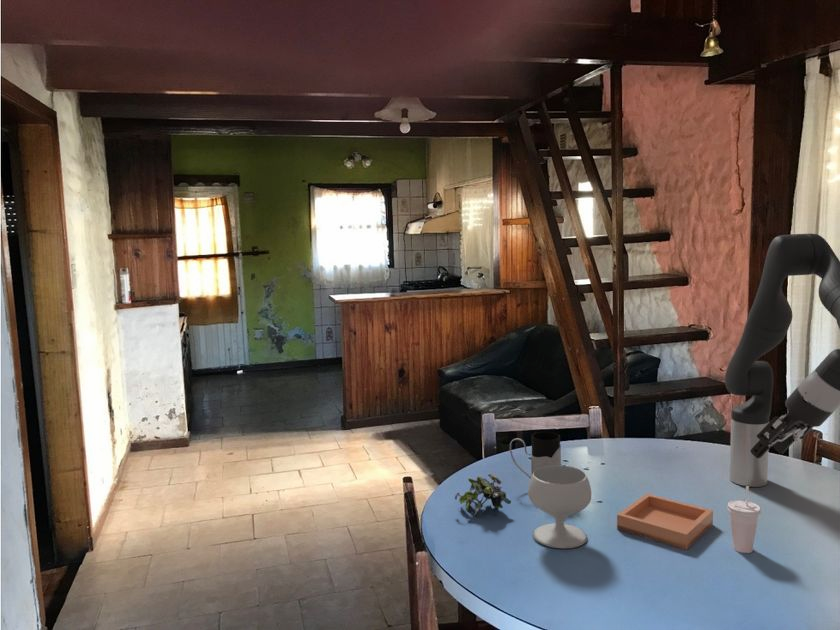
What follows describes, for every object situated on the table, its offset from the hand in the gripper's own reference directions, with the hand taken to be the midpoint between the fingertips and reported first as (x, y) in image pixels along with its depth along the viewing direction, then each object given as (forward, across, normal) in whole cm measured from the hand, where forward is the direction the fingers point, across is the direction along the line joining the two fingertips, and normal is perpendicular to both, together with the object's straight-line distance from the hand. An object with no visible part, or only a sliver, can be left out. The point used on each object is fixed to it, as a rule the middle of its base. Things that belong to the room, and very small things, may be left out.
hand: (766, 452), depth 135 cm
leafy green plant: (+50, +32, -29) cm, 66 cm away
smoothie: (+20, 0, +10) cm, 23 cm away
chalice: (+38, +27, -11) cm, 48 cm away
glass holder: (+50, +12, -33) cm, 61 cm away
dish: (+30, +4, -4) cm, 30 cm away
